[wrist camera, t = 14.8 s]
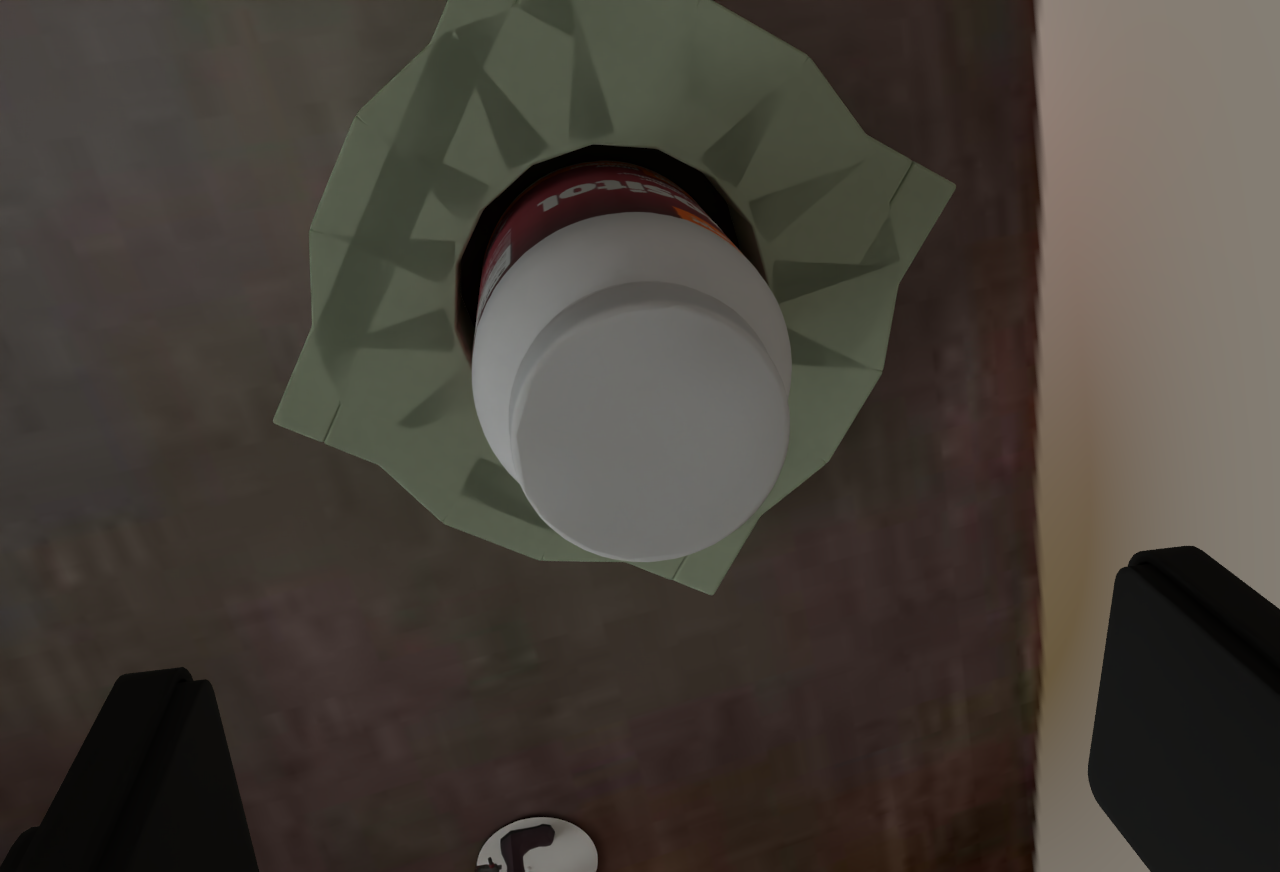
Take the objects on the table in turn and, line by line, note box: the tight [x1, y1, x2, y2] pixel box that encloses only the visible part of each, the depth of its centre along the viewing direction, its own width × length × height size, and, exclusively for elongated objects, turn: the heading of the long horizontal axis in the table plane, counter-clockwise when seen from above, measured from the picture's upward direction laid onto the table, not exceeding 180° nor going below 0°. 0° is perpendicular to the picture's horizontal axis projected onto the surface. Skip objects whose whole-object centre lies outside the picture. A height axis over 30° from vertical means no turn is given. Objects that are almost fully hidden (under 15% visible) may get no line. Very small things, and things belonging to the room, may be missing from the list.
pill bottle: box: [472, 160, 792, 562], centre depth 22 cm, size 6×6×11 cm
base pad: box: [273, 0, 956, 595], centre depth 26 cm, size 14×14×3 cm
